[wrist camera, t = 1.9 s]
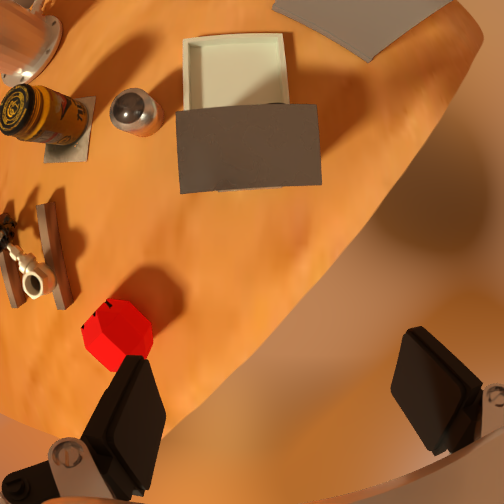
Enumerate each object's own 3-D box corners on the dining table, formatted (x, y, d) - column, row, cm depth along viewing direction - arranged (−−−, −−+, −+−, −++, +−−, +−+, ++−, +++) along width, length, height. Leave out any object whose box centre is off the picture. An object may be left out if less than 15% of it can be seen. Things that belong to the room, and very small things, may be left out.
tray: (185, 46, 26) (182, 39, 24) (279, 40, 27) (282, 33, 25) (187, 130, 29) (184, 127, 27) (287, 123, 29) (291, 120, 27)
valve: (73, 263, 33) (19, 213, 30) (54, 274, 27) (-6, 215, 23) (54, 299, 33) (2, 250, 30) (35, 315, 27) (-22, 257, 23)
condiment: (96, 96, 27) (43, 68, 15) (87, 161, 29) (26, 158, 17) (53, 102, 26) (-4, 84, 15) (45, 163, 28) (-17, 164, 17)
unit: (197, 129, 29) (175, 101, 17) (286, 123, 29) (315, 94, 18) (201, 190, 31) (180, 197, 19) (290, 184, 31) (322, 187, 20)
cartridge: (127, 104, 28) (107, 92, 22) (163, 97, 28) (149, 82, 22) (128, 140, 29) (107, 133, 23) (165, 133, 29) (149, 124, 23)
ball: (123, 282, 33) (98, 307, 26) (167, 326, 35) (152, 360, 27) (91, 316, 34) (66, 344, 27) (131, 356, 36) (114, 389, 28)
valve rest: (1, 214, 29) (-9, 217, 27) (54, 201, 30) (44, 203, 27) (20, 301, 33) (11, 307, 30) (73, 302, 33) (65, 309, 31)
